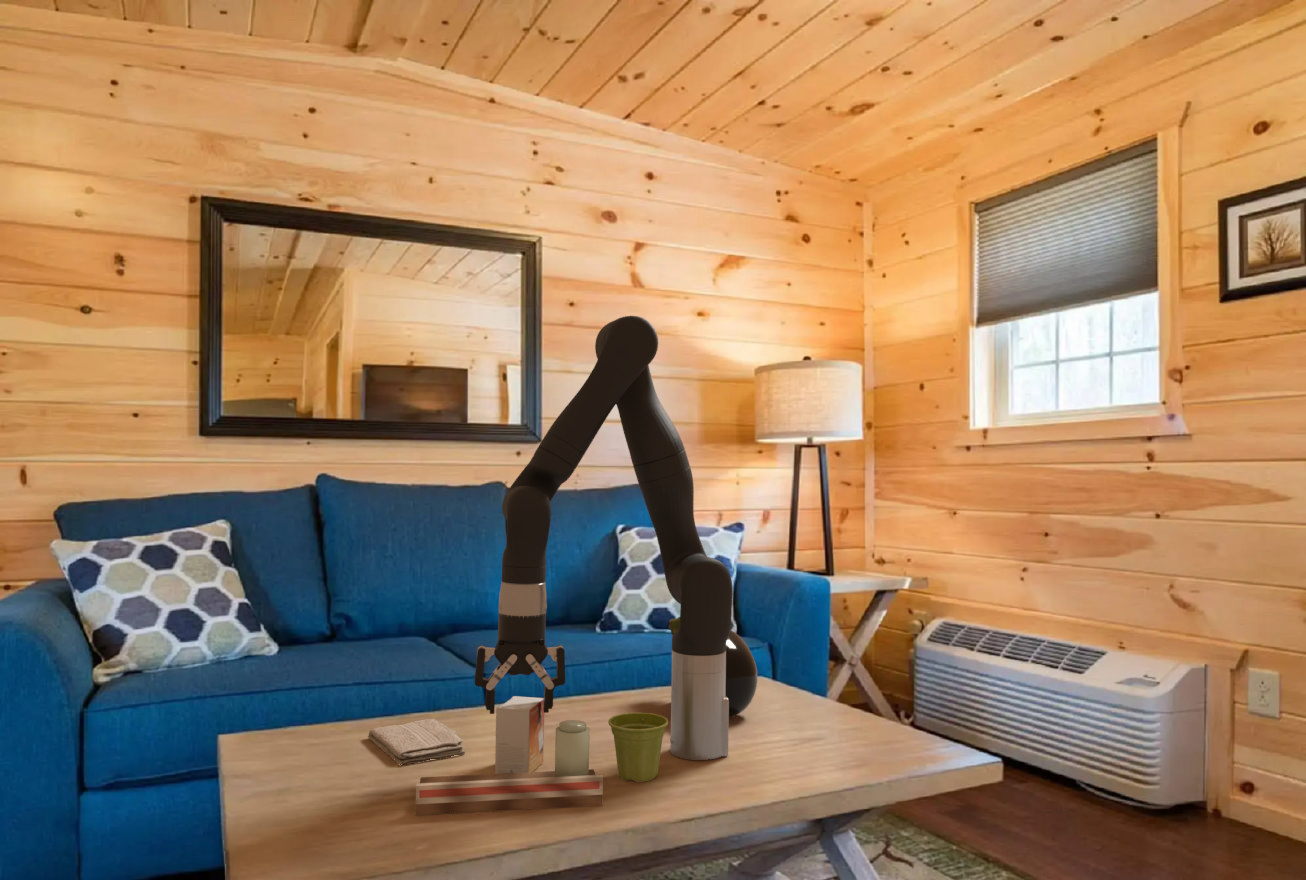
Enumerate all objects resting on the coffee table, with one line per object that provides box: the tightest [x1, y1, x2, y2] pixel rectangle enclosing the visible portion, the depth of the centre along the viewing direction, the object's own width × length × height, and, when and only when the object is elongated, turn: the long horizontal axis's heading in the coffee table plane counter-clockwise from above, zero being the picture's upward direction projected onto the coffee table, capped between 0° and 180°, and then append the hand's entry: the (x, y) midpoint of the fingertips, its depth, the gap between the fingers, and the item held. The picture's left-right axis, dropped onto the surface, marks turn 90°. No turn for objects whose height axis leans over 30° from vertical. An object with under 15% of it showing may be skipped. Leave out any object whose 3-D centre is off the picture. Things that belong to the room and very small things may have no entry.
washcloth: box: [367, 718, 466, 766], centre depth 158 cm, size 12×18×3 cm, turn 35°
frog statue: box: [667, 616, 758, 718], centre depth 186 cm, size 19×16×25 cm
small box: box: [494, 695, 545, 774], centre depth 148 cm, size 8×6×10 cm
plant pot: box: [607, 712, 669, 783], centre depth 145 cm, size 9×9×9 cm
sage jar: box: [554, 719, 591, 777], centre depth 137 cm, size 5×5×9 cm
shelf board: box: [414, 768, 604, 816], centre depth 136 cm, size 26×11×4 cm, turn 100°
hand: (518, 712), depth 148 cm, fingers open, 8 cm apart
